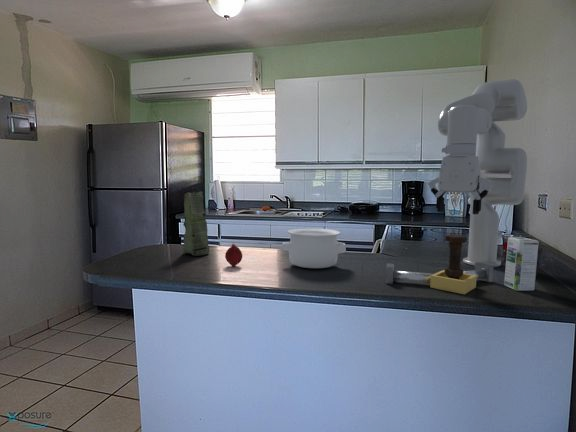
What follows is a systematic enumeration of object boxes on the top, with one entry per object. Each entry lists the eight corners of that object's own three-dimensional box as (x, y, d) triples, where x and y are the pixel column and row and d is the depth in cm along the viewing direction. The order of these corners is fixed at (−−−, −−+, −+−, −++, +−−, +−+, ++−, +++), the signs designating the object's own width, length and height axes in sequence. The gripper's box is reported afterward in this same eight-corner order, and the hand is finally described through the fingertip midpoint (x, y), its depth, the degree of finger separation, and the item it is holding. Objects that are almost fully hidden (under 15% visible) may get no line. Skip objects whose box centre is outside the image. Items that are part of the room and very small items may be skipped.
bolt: (462, 285, 115) (465, 234, 114) (465, 290, 110) (468, 237, 109) (441, 284, 117) (443, 234, 115) (443, 288, 112) (446, 236, 110)
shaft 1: (433, 283, 117) (434, 266, 117) (434, 287, 113) (435, 270, 112) (386, 279, 121) (387, 263, 121) (385, 283, 117) (386, 266, 116)
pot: (342, 261, 146) (343, 229, 144) (347, 273, 128) (348, 236, 127) (283, 260, 147) (283, 227, 145) (280, 271, 130) (280, 234, 128)
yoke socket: (442, 281, 120) (443, 269, 120) (475, 287, 114) (476, 275, 113) (430, 287, 113) (430, 275, 113) (464, 294, 107) (465, 281, 106)
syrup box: (503, 285, 116) (506, 236, 115) (522, 285, 117) (525, 236, 115) (515, 291, 111) (519, 240, 109) (535, 290, 111) (539, 240, 110)
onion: (245, 265, 137) (245, 242, 136) (236, 269, 132) (236, 245, 131) (231, 263, 139) (231, 241, 139) (221, 267, 134) (221, 244, 133)
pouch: (185, 258, 148) (184, 191, 145) (177, 252, 158) (176, 190, 156) (214, 255, 153) (213, 191, 151) (204, 250, 164) (204, 190, 161)
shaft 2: (466, 286, 115) (467, 269, 114) (451, 282, 119) (452, 265, 119) (492, 281, 120) (493, 265, 120) (478, 277, 125) (479, 262, 124)
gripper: (425, 151, 112) (422, 211, 114) (490, 149, 101) (486, 216, 103) (435, 152, 118) (432, 209, 120) (498, 151, 106) (494, 214, 108)
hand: (457, 212), depth 111 cm, fingers open, 9 cm apart
